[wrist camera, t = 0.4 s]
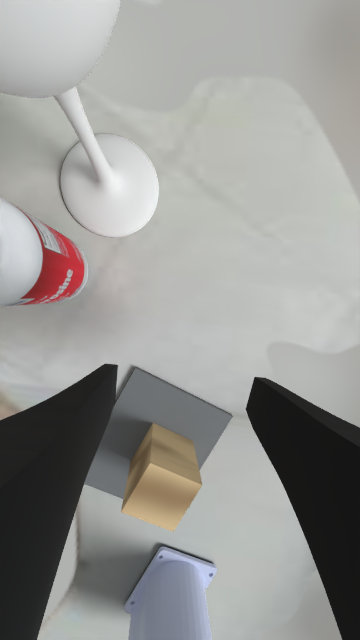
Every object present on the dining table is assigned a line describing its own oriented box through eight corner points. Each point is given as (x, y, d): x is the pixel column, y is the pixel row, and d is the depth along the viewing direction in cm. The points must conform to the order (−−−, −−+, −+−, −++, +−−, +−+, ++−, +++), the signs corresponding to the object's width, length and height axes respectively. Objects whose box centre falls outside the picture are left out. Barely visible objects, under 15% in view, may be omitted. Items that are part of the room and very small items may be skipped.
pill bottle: (47, 313, 19) (-115, 340, 8) (7, 255, 18) (-241, 193, 7) (103, 282, 19) (21, 264, 8) (66, 223, 18) (-85, 109, 7)
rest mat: (170, 513, 23) (170, 517, 22) (74, 475, 21) (72, 479, 21) (231, 414, 22) (232, 416, 21) (136, 366, 20) (135, 368, 20)
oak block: (170, 477, 22) (173, 531, 17) (130, 460, 21) (121, 512, 16) (193, 441, 21) (202, 485, 16) (153, 422, 21) (150, 462, 16)
